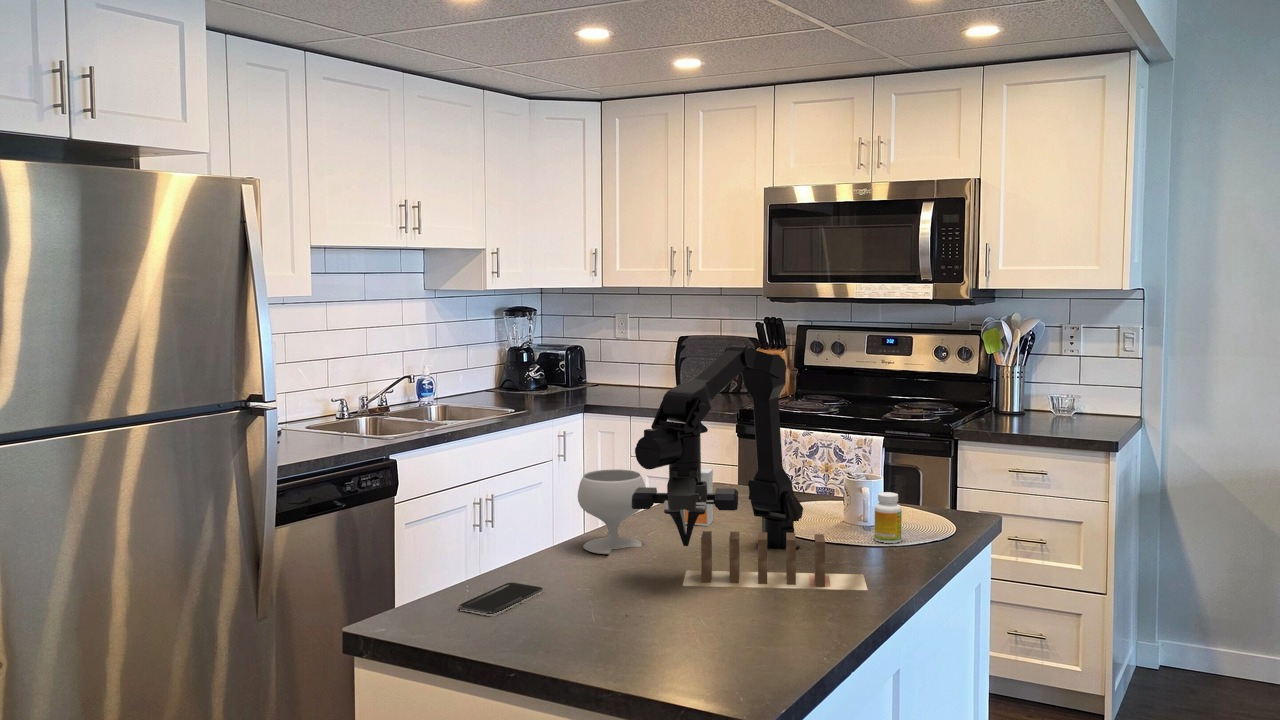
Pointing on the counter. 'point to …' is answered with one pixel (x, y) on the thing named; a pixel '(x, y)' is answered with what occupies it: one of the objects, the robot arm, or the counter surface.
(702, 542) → the domino
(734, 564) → the domino
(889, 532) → the supplement bottle
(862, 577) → the domino board
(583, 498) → the chalice
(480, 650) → the counter surface
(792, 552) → the domino
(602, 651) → the counter surface
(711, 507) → the skincare box
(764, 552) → the domino
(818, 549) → the domino
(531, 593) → the phone
